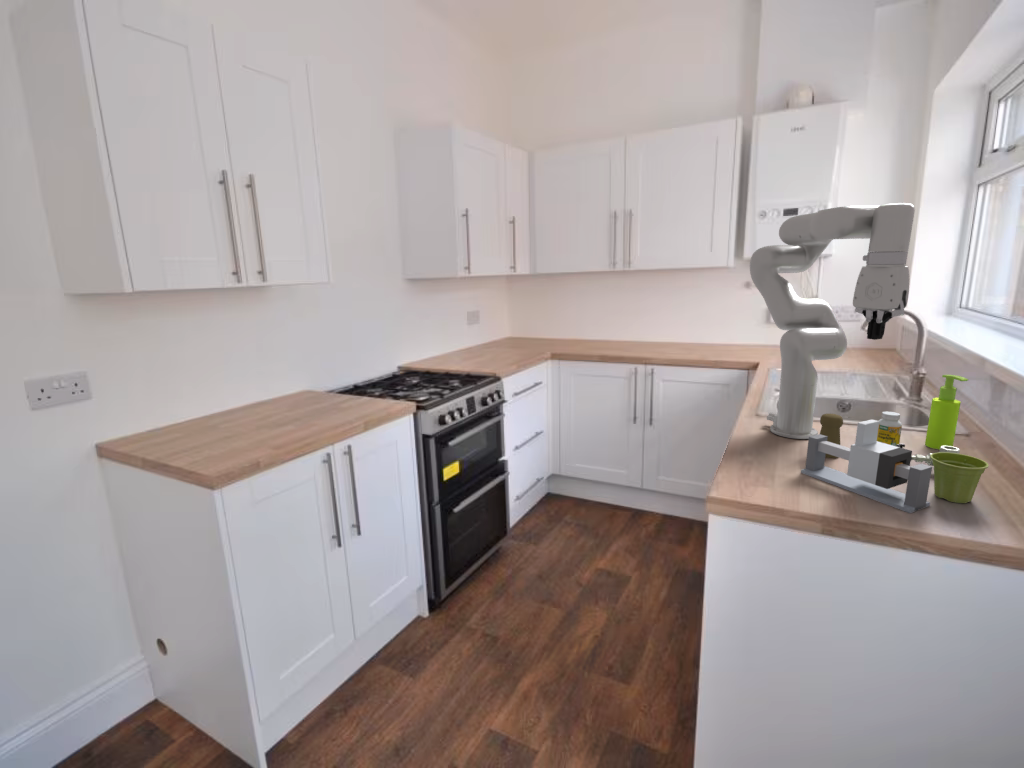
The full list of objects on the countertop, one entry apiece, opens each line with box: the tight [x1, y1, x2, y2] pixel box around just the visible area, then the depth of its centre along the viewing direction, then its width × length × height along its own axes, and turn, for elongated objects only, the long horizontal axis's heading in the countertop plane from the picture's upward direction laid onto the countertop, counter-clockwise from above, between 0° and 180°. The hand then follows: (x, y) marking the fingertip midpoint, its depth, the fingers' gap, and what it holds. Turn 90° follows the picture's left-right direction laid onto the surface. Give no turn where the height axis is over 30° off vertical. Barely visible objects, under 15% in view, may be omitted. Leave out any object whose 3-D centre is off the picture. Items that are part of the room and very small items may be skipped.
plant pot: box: [930, 451, 989, 504], centre depth 110 cm, size 9×9×9 cm
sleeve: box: [846, 418, 900, 485], centre depth 113 cm, size 6×7×12 cm
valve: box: [896, 443, 961, 467], centre depth 124 cm, size 7×7×12 cm
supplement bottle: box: [877, 411, 903, 446], centre depth 141 cm, size 5×5×10 cm
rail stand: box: [800, 433, 933, 514], centre depth 116 cm, size 24×7×9 cm, turn 25°
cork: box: [819, 413, 844, 459], centre depth 136 cm, size 6×6×11 cm
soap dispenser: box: [924, 374, 969, 451], centre depth 138 cm, size 6×7×20 cm
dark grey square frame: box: [875, 447, 913, 489], centre depth 110 cm, size 2×7×7 cm, turn 115°
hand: (874, 338), depth 123 cm, fingers closed
